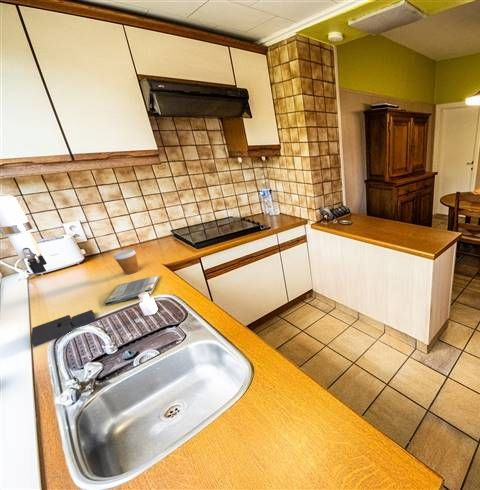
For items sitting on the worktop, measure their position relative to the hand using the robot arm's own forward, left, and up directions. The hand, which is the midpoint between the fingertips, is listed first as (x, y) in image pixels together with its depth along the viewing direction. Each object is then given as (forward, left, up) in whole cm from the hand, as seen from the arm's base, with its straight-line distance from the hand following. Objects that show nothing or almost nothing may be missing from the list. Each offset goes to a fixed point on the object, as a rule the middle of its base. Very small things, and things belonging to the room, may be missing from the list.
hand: (40, 268), depth 106 cm
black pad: (+3, -15, -22) cm, 27 cm away
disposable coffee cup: (+26, +26, -22) cm, 43 cm away
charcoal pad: (-4, -15, -22) cm, 27 cm away
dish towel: (+23, -2, -22) cm, 32 cm away
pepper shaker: (+24, -30, -22) cm, 44 cm away
